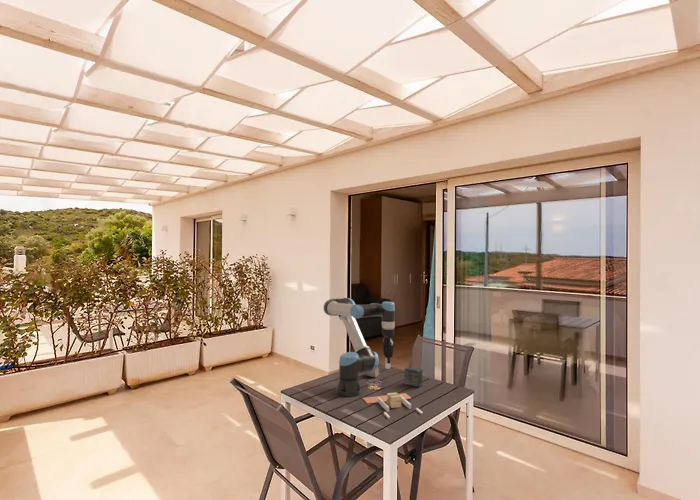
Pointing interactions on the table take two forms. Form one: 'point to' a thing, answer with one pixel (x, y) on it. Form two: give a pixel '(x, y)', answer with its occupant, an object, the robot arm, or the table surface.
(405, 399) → the guide rails
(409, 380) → the small box
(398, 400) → the maple block
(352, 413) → the table surface
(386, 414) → the strips
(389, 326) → the robot arm
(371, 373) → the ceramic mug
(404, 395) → the mat
